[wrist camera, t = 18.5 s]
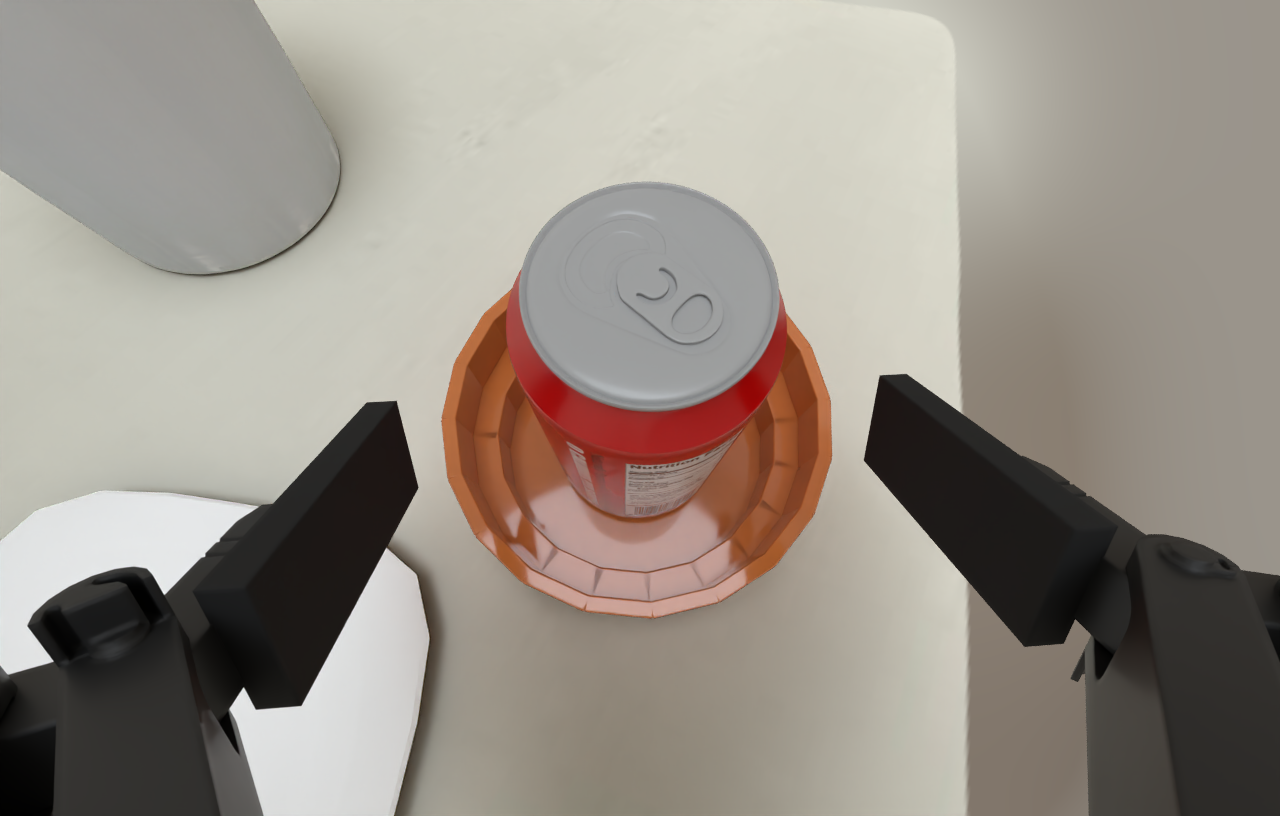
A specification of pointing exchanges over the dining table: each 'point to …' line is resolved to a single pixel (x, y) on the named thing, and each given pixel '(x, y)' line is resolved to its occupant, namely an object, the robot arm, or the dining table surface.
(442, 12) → the dining table surface
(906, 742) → the dining table surface
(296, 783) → the plate
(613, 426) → the soda can
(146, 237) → the utensil holder
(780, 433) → the bowl
